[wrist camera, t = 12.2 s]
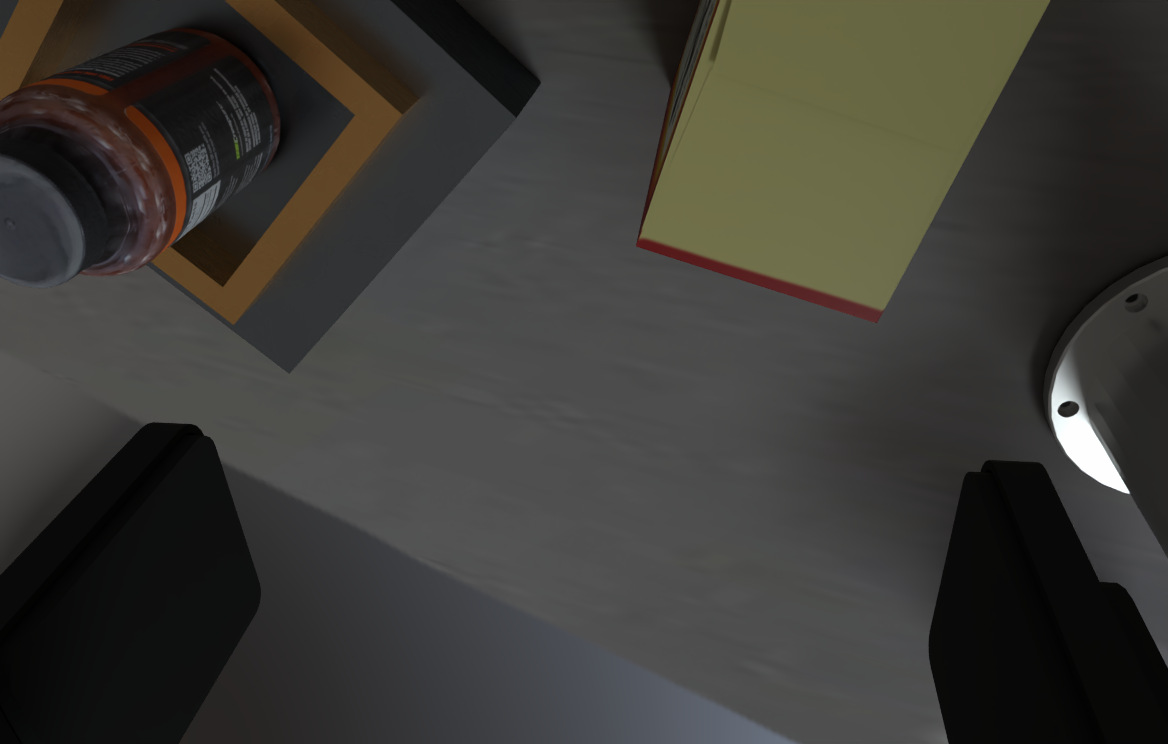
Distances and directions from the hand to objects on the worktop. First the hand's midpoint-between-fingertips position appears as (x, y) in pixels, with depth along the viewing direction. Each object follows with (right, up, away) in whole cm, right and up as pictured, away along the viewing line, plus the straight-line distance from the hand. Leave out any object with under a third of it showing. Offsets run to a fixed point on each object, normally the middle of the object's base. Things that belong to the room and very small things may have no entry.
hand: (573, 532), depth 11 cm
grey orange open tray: (-15, +16, +26) cm, 34 cm away
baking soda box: (+8, +16, +22) cm, 29 cm away
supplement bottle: (-14, +12, +23) cm, 29 cm away
